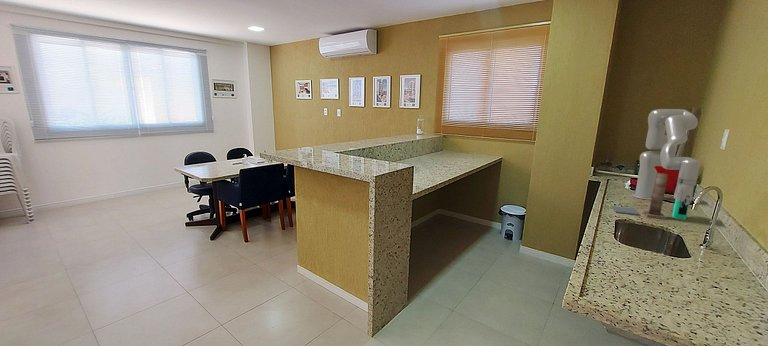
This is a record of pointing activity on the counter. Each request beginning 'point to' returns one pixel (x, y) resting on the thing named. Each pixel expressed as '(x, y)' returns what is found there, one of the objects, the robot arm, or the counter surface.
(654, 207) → the post
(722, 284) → the counter surface
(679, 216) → the candle
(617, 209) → the mat
